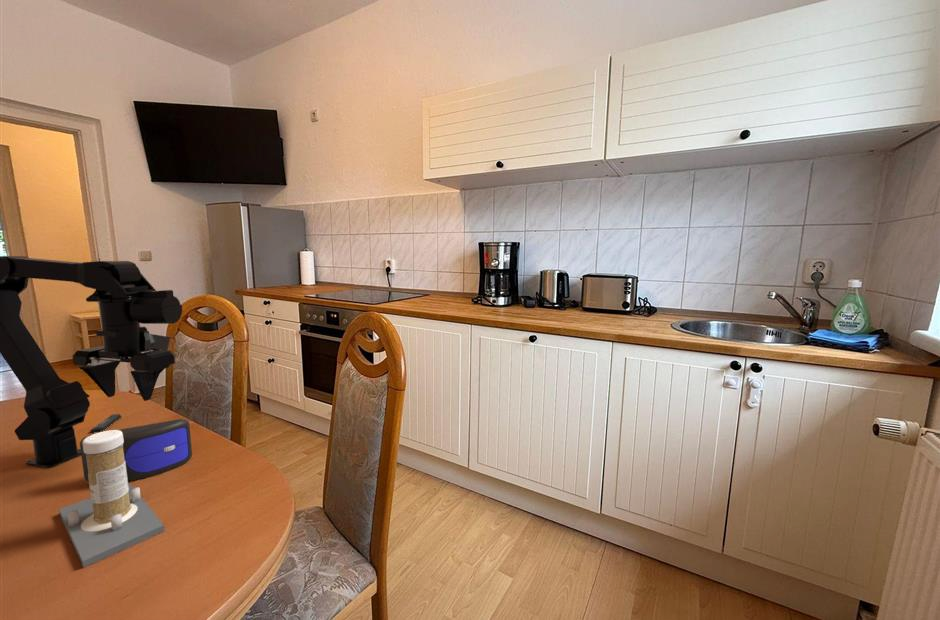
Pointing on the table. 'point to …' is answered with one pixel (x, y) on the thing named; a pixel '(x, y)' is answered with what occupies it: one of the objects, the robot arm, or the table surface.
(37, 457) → the robot arm
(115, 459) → the sprinkles bottle
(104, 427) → the usb stick
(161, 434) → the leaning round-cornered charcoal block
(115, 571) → the table surface
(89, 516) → the pin board
